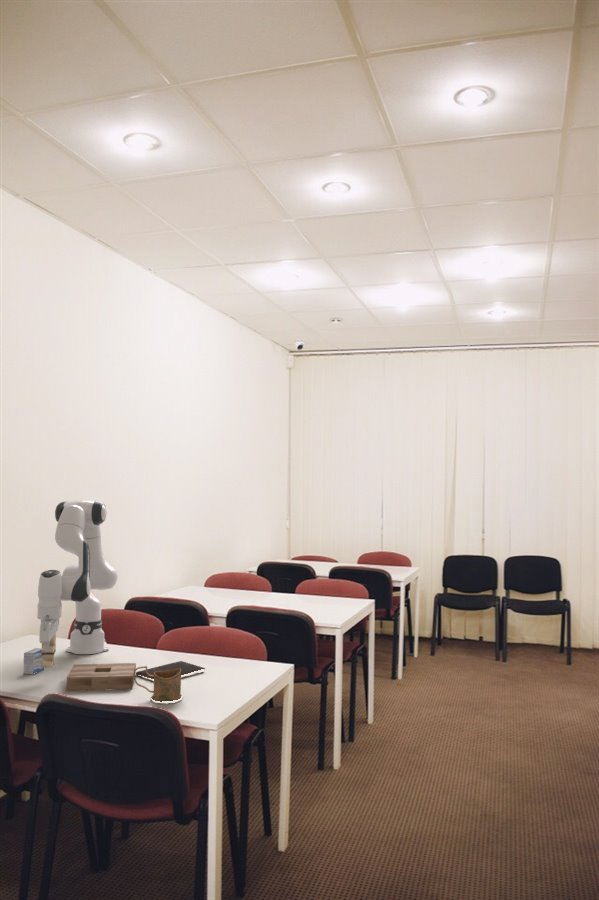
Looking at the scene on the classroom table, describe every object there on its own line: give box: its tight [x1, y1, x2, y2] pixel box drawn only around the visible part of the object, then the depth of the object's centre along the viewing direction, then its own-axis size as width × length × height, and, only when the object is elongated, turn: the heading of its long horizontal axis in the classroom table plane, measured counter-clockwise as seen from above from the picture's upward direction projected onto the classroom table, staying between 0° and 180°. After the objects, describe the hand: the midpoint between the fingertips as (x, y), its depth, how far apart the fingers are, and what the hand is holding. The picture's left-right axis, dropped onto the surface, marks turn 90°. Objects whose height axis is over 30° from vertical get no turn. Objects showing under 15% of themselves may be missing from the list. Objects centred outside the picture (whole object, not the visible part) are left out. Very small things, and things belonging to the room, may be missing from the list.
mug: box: [134, 665, 183, 702], centre depth 251 cm, size 12×18×12 cm, turn 103°
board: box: [65, 662, 137, 692], centre depth 269 cm, size 18×24×5 cm
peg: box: [41, 632, 57, 669], centre depth 268 cm, size 4×4×12 cm
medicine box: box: [22, 647, 44, 675], centre depth 281 cm, size 8×4×9 cm, turn 168°
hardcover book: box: [135, 660, 206, 679], centre depth 283 cm, size 16×23×2 cm
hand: (48, 648), depth 268 cm, fingers closed on peg, 4 cm apart
